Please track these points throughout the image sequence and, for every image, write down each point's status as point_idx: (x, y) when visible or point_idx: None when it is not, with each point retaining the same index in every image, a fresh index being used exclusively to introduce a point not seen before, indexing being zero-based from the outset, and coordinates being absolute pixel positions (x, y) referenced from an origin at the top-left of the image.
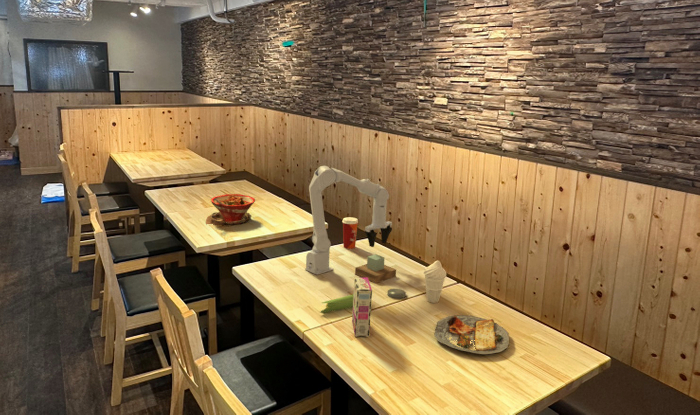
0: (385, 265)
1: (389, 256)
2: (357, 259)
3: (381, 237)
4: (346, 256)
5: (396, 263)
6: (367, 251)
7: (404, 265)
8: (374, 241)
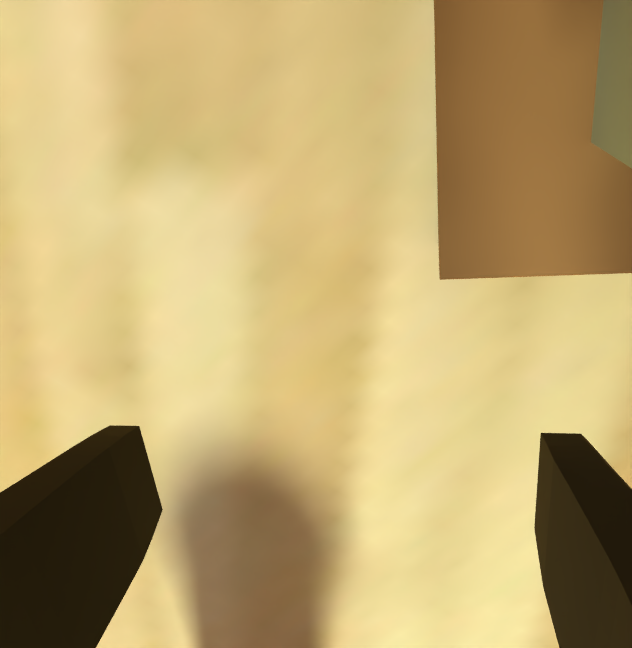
0: (440, 29)
1: (52, 403)
2: (413, 533)
3: (107, 620)
4: (447, 635)
5: (91, 203)
6: (180, 597)
7: (31, 85)
8: (609, 533)
